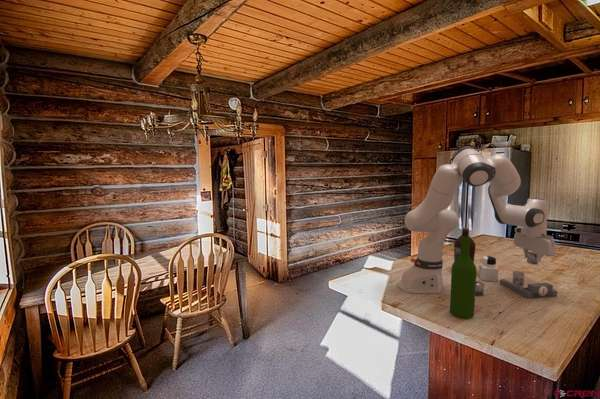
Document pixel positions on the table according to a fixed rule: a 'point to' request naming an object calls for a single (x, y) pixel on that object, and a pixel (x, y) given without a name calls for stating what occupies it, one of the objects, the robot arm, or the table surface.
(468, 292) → the wine bottle
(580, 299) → the table surface
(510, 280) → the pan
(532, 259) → the cylinder
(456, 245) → the olive oil
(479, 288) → the cylinder
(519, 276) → the cylinder
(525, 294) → the scale
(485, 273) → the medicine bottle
